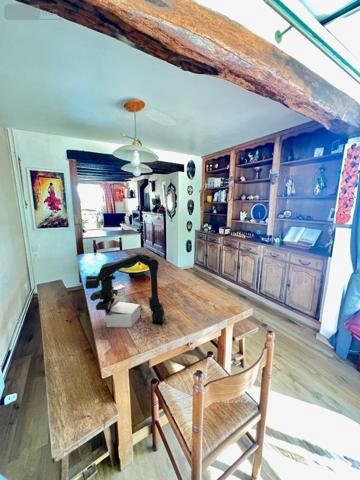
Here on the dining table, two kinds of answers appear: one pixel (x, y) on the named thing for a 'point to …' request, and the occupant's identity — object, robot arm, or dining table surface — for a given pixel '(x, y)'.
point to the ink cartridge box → (119, 293)
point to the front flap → (118, 320)
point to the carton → (127, 310)
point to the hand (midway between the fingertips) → (108, 312)
